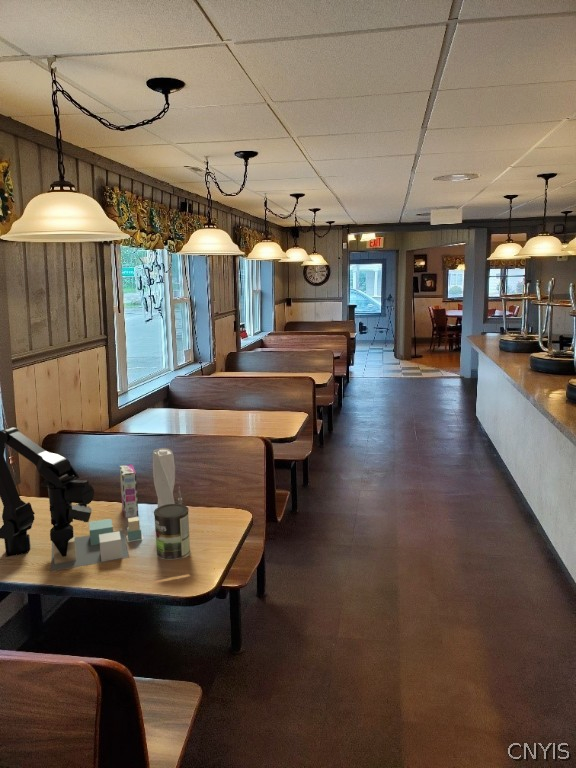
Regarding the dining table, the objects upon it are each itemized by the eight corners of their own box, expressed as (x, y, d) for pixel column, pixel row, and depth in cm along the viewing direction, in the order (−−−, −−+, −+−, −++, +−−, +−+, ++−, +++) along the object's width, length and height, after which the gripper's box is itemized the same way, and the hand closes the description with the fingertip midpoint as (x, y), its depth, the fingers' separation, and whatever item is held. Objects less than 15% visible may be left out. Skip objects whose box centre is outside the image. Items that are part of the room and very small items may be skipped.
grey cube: (101, 561, 174) (99, 542, 173) (100, 552, 179) (98, 534, 178) (122, 557, 176) (121, 539, 175) (120, 549, 181) (119, 531, 180)
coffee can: (167, 565, 172) (164, 520, 170) (150, 553, 180) (147, 509, 177) (197, 554, 179) (194, 510, 176) (180, 542, 186) (177, 500, 184)
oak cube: (54, 563, 173) (52, 544, 172) (55, 555, 179) (53, 536, 178) (76, 560, 175) (74, 541, 174) (75, 551, 181) (74, 533, 180)
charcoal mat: (51, 573, 169) (50, 571, 169) (52, 543, 188) (52, 541, 188) (129, 559, 176) (129, 557, 176) (123, 531, 196) (123, 529, 195)
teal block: (90, 545, 185) (89, 530, 184) (90, 536, 191) (88, 522, 190) (114, 541, 187) (112, 526, 186) (112, 532, 193) (111, 518, 192)
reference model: (127, 543, 187) (126, 523, 185) (126, 537, 191) (124, 517, 190) (143, 540, 188) (142, 521, 187) (141, 534, 193) (140, 515, 192)
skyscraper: (174, 530, 195) (169, 450, 190) (151, 528, 197) (146, 448, 192) (184, 520, 203) (180, 442, 198) (163, 518, 205) (158, 441, 200)
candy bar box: (139, 517, 207) (136, 472, 204) (125, 519, 205) (121, 474, 202) (135, 506, 217) (132, 463, 214) (122, 508, 216) (118, 465, 213)
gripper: (89, 507, 168) (94, 558, 171) (87, 486, 185) (91, 532, 188) (47, 513, 164) (53, 565, 167) (49, 491, 181) (54, 538, 184)
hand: (64, 549), depth 176 cm, fingers open, 9 cm apart
